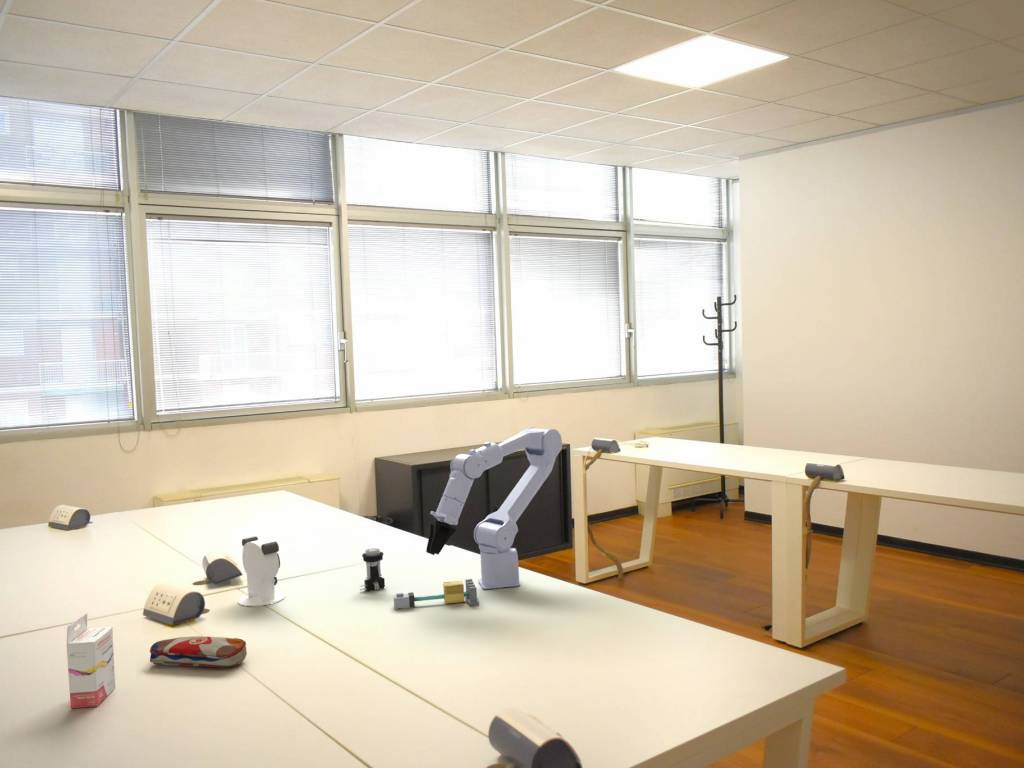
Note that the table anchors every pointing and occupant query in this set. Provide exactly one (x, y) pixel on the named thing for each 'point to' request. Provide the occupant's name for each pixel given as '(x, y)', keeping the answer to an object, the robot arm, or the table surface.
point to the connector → (401, 601)
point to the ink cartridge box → (89, 664)
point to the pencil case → (199, 651)
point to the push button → (373, 570)
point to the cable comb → (471, 592)
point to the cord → (433, 597)
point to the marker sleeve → (453, 592)
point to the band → (411, 599)
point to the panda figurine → (260, 571)
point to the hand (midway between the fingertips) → (432, 553)
